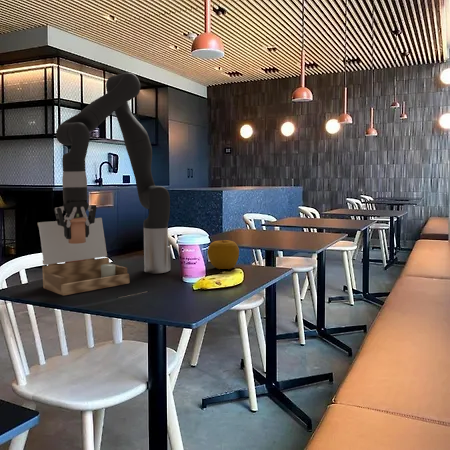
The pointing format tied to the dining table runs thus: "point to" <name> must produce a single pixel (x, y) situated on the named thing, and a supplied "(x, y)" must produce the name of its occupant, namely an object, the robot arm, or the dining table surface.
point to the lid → (63, 250)
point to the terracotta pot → (77, 230)
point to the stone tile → (132, 294)
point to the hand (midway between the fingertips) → (77, 237)
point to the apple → (223, 254)
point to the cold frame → (81, 276)
